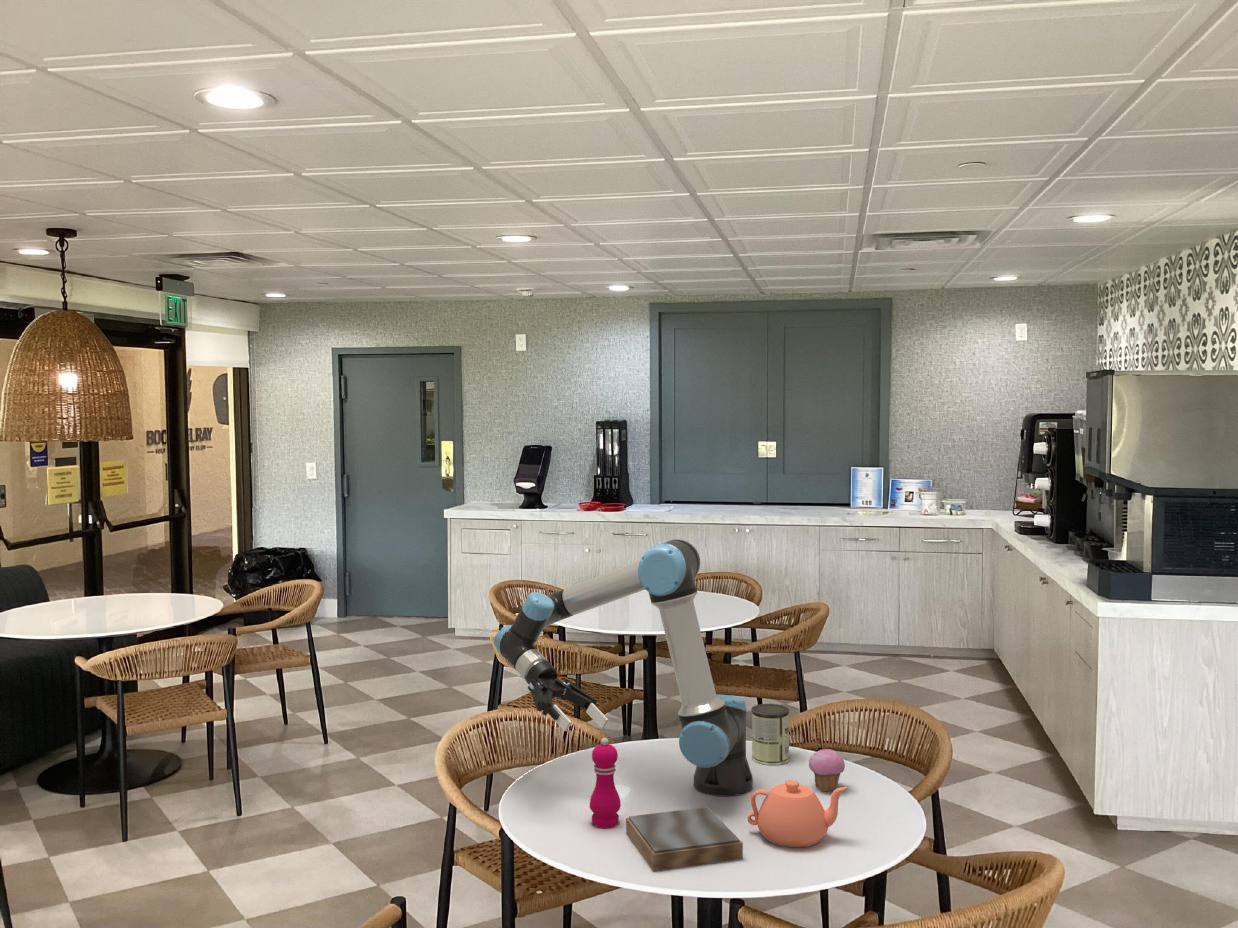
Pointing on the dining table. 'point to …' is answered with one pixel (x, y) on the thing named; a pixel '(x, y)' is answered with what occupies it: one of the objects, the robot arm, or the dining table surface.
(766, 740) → the coffee can
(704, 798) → the dining table surface
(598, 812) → the pepper mill
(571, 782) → the dining table surface
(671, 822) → the walnut stand
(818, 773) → the cupcake
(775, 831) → the teapot
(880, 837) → the dining table surface
